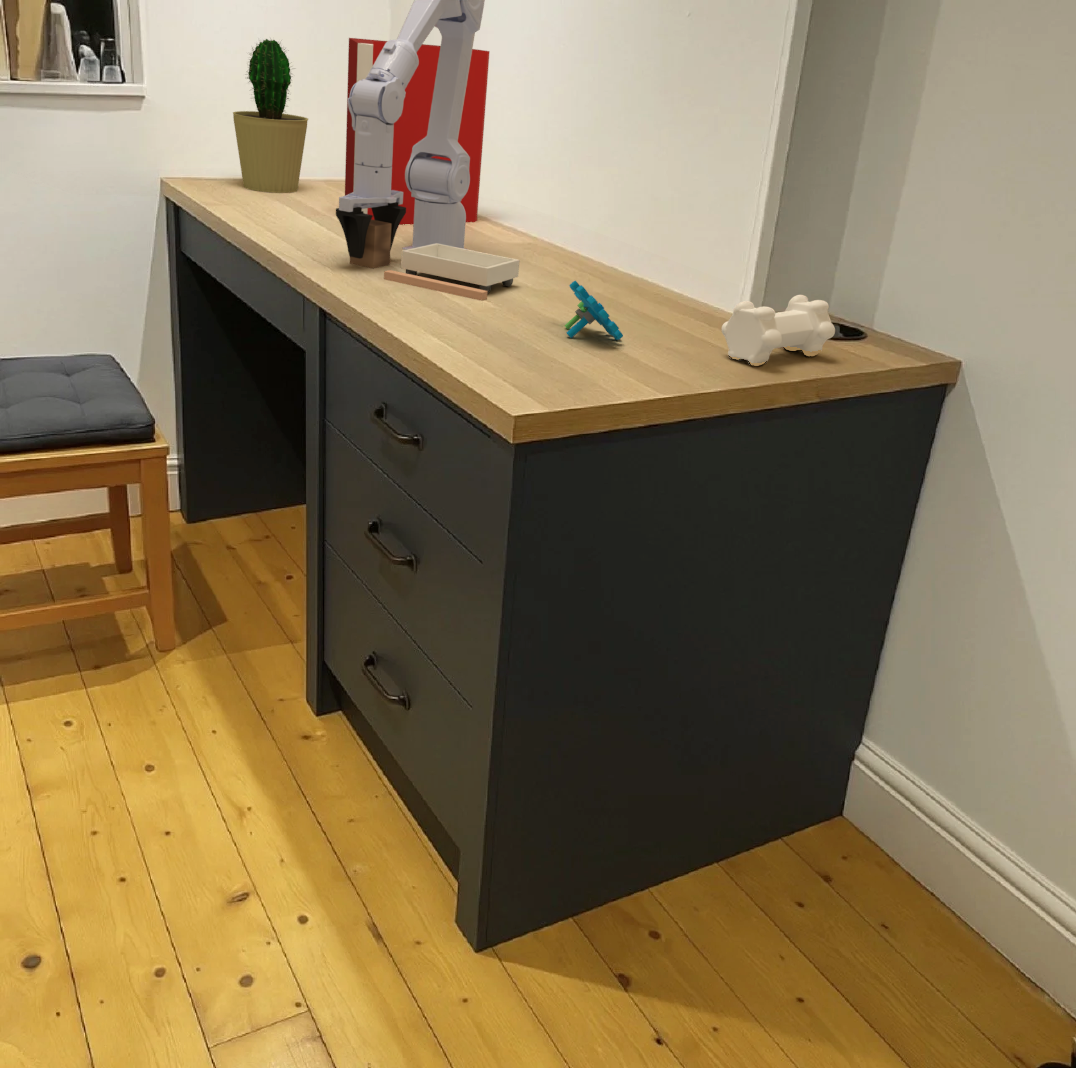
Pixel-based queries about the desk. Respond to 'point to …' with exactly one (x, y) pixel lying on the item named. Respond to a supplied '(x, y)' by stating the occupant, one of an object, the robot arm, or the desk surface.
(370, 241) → the walnut block
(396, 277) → the thin flat board
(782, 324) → the white bone
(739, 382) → the desk surface
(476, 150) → the book
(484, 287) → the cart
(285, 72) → the potted cactus
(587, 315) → the gear
